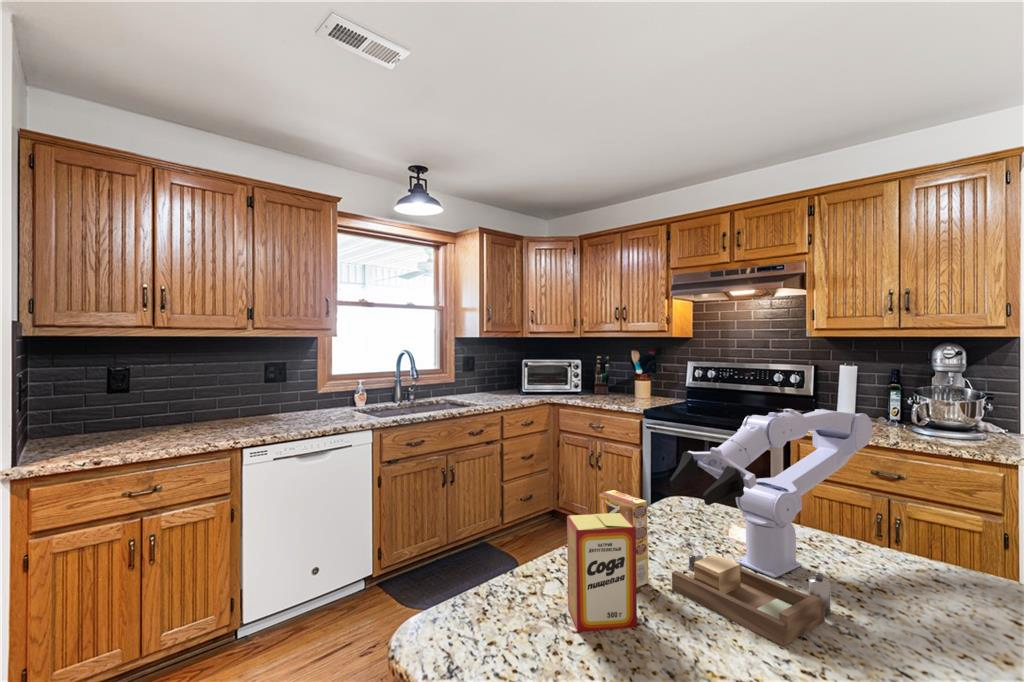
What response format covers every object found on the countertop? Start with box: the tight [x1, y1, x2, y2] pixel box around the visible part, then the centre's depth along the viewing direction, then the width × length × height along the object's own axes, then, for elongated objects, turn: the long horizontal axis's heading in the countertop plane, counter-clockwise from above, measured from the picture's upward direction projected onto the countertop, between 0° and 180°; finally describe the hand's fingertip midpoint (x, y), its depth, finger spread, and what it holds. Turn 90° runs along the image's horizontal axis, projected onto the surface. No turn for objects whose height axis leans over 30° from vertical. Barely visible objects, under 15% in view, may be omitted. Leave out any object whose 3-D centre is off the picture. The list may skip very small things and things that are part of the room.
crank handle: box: [688, 554, 704, 572], centre depth 98 cm, size 6×1×3 cm, turn 142°
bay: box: [671, 567, 826, 647], centre depth 83 cm, size 12×20×4 cm, turn 32°
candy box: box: [598, 489, 650, 589], centre depth 93 cm, size 9×4×15 cm, turn 33°
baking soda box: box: [566, 513, 638, 633], centre depth 79 cm, size 10×6×16 cm
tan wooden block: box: [693, 553, 742, 594], centre depth 87 cm, size 6×5×4 cm
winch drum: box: [808, 572, 831, 617], centre depth 81 cm, size 3×3×6 cm
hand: (687, 492), depth 88 cm, fingers open, 7 cm apart
